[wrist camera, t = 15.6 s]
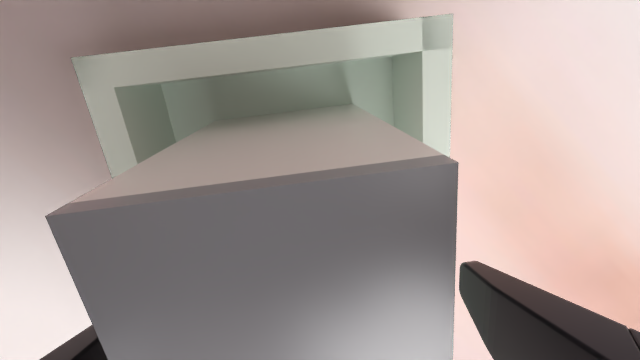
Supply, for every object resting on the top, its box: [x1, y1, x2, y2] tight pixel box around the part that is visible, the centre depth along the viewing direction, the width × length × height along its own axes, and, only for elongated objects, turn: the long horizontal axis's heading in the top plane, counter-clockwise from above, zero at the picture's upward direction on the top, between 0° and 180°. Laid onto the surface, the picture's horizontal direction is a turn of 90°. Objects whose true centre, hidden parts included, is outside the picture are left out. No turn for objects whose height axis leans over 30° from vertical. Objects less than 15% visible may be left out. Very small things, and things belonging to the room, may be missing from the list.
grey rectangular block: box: [45, 104, 458, 360], centre depth 9 cm, size 5×9×8 cm, turn 7°
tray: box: [71, 14, 453, 178], centre depth 12 cm, size 10×14×4 cm
